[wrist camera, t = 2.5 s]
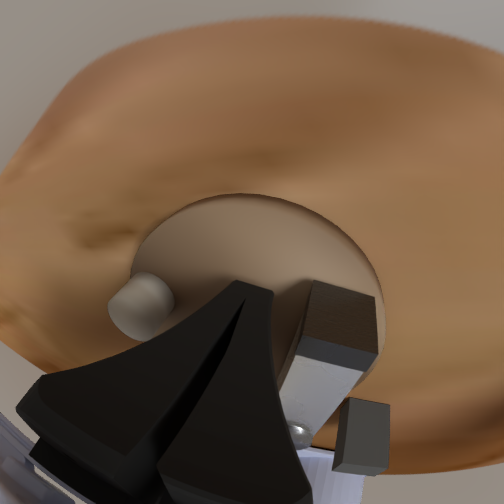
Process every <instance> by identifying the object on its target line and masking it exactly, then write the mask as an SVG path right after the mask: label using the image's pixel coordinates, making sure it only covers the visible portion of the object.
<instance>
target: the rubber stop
mask: <svg viewBox="0 0 504 504" xmlns="http://www.w3.org/2000/svg"><path fill="white" fill-rule="evenodd" d="M389 442H390V405H387V404H381V403H376V402H370V401H365V400H360V399H355V398H349V400H348V401H347V402H346V403H345V405H344V406H343V407H342V408H341V409H340V418H339V425H338V433H337V440H336V446H335V453H334V459H333V465H332V470H331V471H334V472H341V473H348V474H356V475H365V476H376V475H378V474H380V473H381V472H383V471H384V470H386V469H388V463H389Z"/></svg>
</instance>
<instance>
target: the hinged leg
mask: <svg viewBox="0 0 504 504" xmlns="http://www.w3.org/2000/svg"><path fill="white" fill-rule="evenodd" d="M378 355H379V353H378V332H377V317H376V304H375V297H374V296H370V295H367V294H363V293H360V292H356V291H353V290H349V289H346V288H342V287H339V286H335V285H332V284H328V283H325V282H321V281H318V280H313V283H312V286H311V288H310V291H309V294H308V297H307V301H306V306H305V310H304V313H303V316H302V318H301V321H300V324H299V326H298V329H297V331H296V334H295V337H294V339H293V342H292V344H291V347H290V350H289V352H288V355H287V357H286V360H285V362H284V365H283V367H282V369H281V372H280V374H279V377H278V379H277V380H276V381H277V386H278V391H279V395H280V400H281V404H282V408H283V411H284V415H285V418H286V421H287V425H288V428H289V431H290V434H291V438H292V441H293V443H294V446H295V449H296V450H303V449H306V448H308V447H310V446H311V444H312V439H313V436H314V435H315V434H316V433H317V431H318V430H319V429H320V428H321V427H322V425H323V424H324V423H325V422H326V421H327V419H328V418H329V417H330V416H331V415H332V413H333V412H334V411H335V410H336V408H337V407H338V406H339V405H340V403H341V402H342V401H343V399H344V398H345V397H346V395H347V394H348V393H349V391H350V390H351V389H352V387H353V386H354V385H355V383H356V382H357V381H358V379H359V378H360V376H361V375H362V374H363V372H367V370H368V369H369V368H370V366H371V365H372V363H373V362H374V360H375V359H376V358H377V356H378Z"/></svg>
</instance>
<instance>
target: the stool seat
mask: <svg viewBox="0 0 504 504" xmlns="http://www.w3.org/2000/svg"><path fill="white" fill-rule="evenodd" d="M234 280H239V281H243V282H246V283H249V284H253V285H256V286H259V287H263V288H266V289H269V290H272V291H273V293H274V298H273V302H272V308H271V342H272V354H273V362H274V369H275V375H276V380H277V379H278V377H279V374H280V372H281V369H282V367H283V365H284V362H285V360H286V357H287V355H288V352H289V350H290V347H291V344H292V342H293V339H294V337H295V334H296V331H297V329H298V326H299V324H300V321H301V318H302V316H303V313H304V310H305V306H306V301H307V297H308V294H309V291H310V288H311V286H312V283H313V280H318V281H321V282H325V283H328V284H332V285H335V286H339V287H342V288H346V289H349V290H353V291H356V292H360V293H363V294H367V295H370V296H374V297H375V304H376V317H377V332H378V353H379V355H378V356H377V358H376V359H375V360H374V362H373V363H372V365H371V366H370V368H369V369H368V370H367V372H363V374H362V375H361V376H360V378H359V379H358V381H357V382H356V383H355V385H354V386H353V387H352V389H354V388H355V387H356V386H358V385H359V384H360V383H361V382H362V381H363V380H364V379H365V378H366V377H367V376H368V375H369V374H370V372H371V371H372V370H373V369H374V367H375V365H376V364H377V362H378V360H379V358H380V355H381V353H382V350H383V347H384V342H385V336H386V317H385V308H384V300H383V295H382V290H381V286H380V283H379V280H378V278H377V275H376V273H375V270H374V268H373V267H372V265H371V263H370V262H369V260H368V258H367V257H366V255H365V254H364V253H363V251H362V250H361V249H360V248H359V247H358V245H357V244H356V243H355V242H354V241H353V240H352V239H351V238H350V237H349V236H348V235H347V234H346V233H345V232H343V231H342V230H341V229H340V228H339V227H338V226H336V225H335V224H333V223H332V222H330V221H329V220H327V219H326V218H324V217H323V216H321V215H320V214H318V213H316V212H314V211H312V210H310V209H307V208H305V207H303V206H301V205H298V204H296V203H293V202H290V201H287V200H284V199H281V198H276V197H270V196H265V195H260V194H243V193H237V194H225V195H218V196H213V197H209V198H205V199H202V200H199V201H197V202H194V203H192V204H189V205H187V206H186V207H184V208H182V209H181V210H179V211H177V212H176V213H174V214H173V215H172V216H171V217H169V218H168V219H167V220H166V221H164V222H163V223H162V224H161V225H159V226H158V227H157V228H156V229H155V230H154V231H153V232H152V233H151V234H149V235H148V237H147V238H146V239H145V241H144V242H143V243H142V245H141V246H140V248H139V250H138V252H137V254H136V256H135V258H134V261H133V265H132V268H131V276H130V280H129V281H128V282H127V283H126V284H125V285H124V286H123V287H122V288H121V289H120V290H119V291H118V292H117V293H116V294H115V295H114V296H113V297H112V298H111V300H110V301H109V302H108V313H109V315H110V317H111V319H112V321H113V322H114V324H115V325H116V326H117V327H118V328H119V329H120V330H121V331H122V332H123V333H124V334H126V335H127V336H129V337H131V338H133V339H135V340H138V341H148V340H150V339H152V338H154V337H156V336H158V335H160V334H161V333H163V332H165V331H166V330H168V329H170V328H172V327H173V326H175V325H176V324H178V323H179V322H181V321H182V320H184V319H185V318H187V317H188V316H190V315H191V314H193V313H194V312H196V311H197V310H198V309H200V308H201V307H202V306H204V305H205V304H206V303H208V302H209V301H210V300H211V299H213V298H214V297H215V296H216V295H218V294H219V293H220V292H221V291H222V290H224V289H225V288H226V287H227V286H228V285H229V284H230V283H231V282H232V281H234ZM352 389H351V390H352ZM351 390H350V391H351Z"/></svg>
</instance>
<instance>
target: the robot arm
mask: <svg viewBox="0 0 504 504" xmlns="http://www.w3.org/2000/svg"><path fill="white" fill-rule="evenodd" d="M273 298H274V293H273V291H272V290H269V289H266V288H263V287H259V286H256V285H253V284H249V283H246V282H243V281H239V280H234V281H232V282H231V283H230V284H229V285H228V286H227V287H226V288H225V289H224V290H222V291H221V292H220V293H219V294H218V295H216V296H215V297H214V298H213V299H211V300H210V301H209V302H208V303H206V304H205V305H204V306H202V307H201V308H200V309H198V310H197V311H196V312H194V313H193V314H191V315H190V316H188V317H187V318H185V319H184V320H182V321H181V322H179V323H178V324H176V325H175V326H173V327H172V328H170V329H168V330H166V331H165V332H163V333H161V334H160V335H158V336H156V337H154V338H152V339H150V340H148V341H146V342H144V343H142V344H140V345H138V346H136V347H134V348H131V349H129V350H127V351H125V352H122V353H120V354H117V355H115V356H112V357H109V358H106V359H103V360H100V361H97V362H94V363H91V364H88V365H85V366H82V367H78V368H74V369H69V370H65V371H60V372H56V373H51V374H45V375H42V376H41V377H40V378H39V379H38V380H37V381H36V382H35V383H34V384H33V386H32V387H31V388H30V389H29V390H28V392H27V393H26V394H25V396H24V397H23V398H22V399H21V401H20V402H19V403H18V405H17V406H16V412H17V413H18V414H19V416H20V417H21V418H22V419H23V420H24V421H25V422H26V423H27V424H28V425H29V427H30V428H31V429H32V430H34V432H35V433H36V434H37V435H38V436H39V437H40V438H39V440H38V441H37V443H36V444H35V443H33V442H32V441H31V440H30V439H29V438H28V437H26V436H25V435H24V434H23V433H22V432H21V431H20V430H19V429H18V428H16V427H15V426H14V425H13V424H12V423H11V422H10V421H9V420H8V419H7V418H6V417H5V416H4V415H3V414H2V413H1V412H0V504H75V502H74V500H72V499H71V498H70V497H69V496H68V495H66V494H65V493H64V492H62V491H61V490H60V489H58V488H57V487H56V486H54V485H53V484H51V483H50V482H48V481H47V480H45V479H44V478H43V477H41V476H40V475H38V474H37V473H35V471H34V465H35V466H36V467H37V468H39V469H40V470H41V471H42V472H44V473H45V474H46V475H47V476H49V477H50V478H51V479H53V480H54V481H55V482H57V483H58V484H59V485H60V486H62V487H63V488H65V489H66V490H67V491H69V492H70V493H72V494H74V495H75V496H76V497H78V498H79V499H81V500H82V501H84V502H85V503H87V504H361V497H362V490H363V482H364V477H366V476H365V475H356V474H348V473H341V472H334V471H331V470H332V465H333V459H334V453H335V452H333V451H328V450H322V449H317V448H312V447H308V448H306V449H303V450H296V449H295V446H294V443H293V441H292V438H291V434H290V431H289V428H288V425H287V421H286V418H285V415H284V411H283V408H282V404H281V400H280V395H279V391H278V386H277V381H276V375H275V369H274V362H273V354H272V342H271V308H272V302H273Z"/></svg>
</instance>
